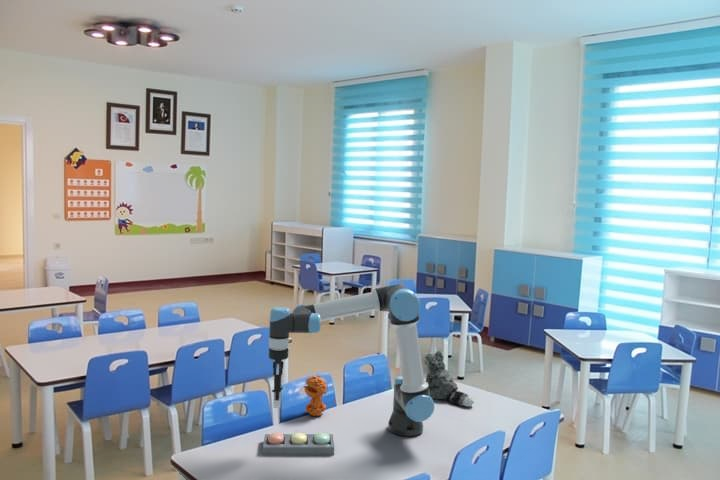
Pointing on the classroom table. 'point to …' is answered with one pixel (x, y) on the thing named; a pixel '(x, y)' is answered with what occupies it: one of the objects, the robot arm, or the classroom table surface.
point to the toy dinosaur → (315, 395)
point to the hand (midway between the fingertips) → (276, 407)
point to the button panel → (298, 447)
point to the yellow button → (298, 438)
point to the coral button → (275, 438)
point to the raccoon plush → (443, 381)
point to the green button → (321, 438)
